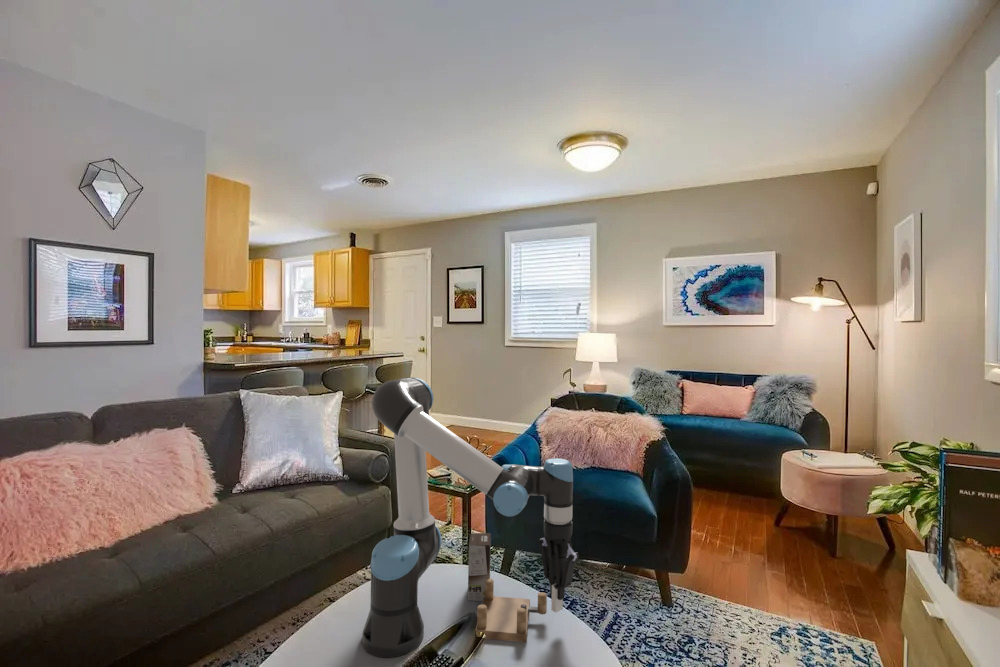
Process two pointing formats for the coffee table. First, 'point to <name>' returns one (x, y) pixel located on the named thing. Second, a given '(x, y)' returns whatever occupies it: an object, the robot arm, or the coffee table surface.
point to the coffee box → (478, 565)
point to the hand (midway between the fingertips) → (557, 609)
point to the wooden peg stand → (502, 616)
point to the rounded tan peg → (540, 604)
